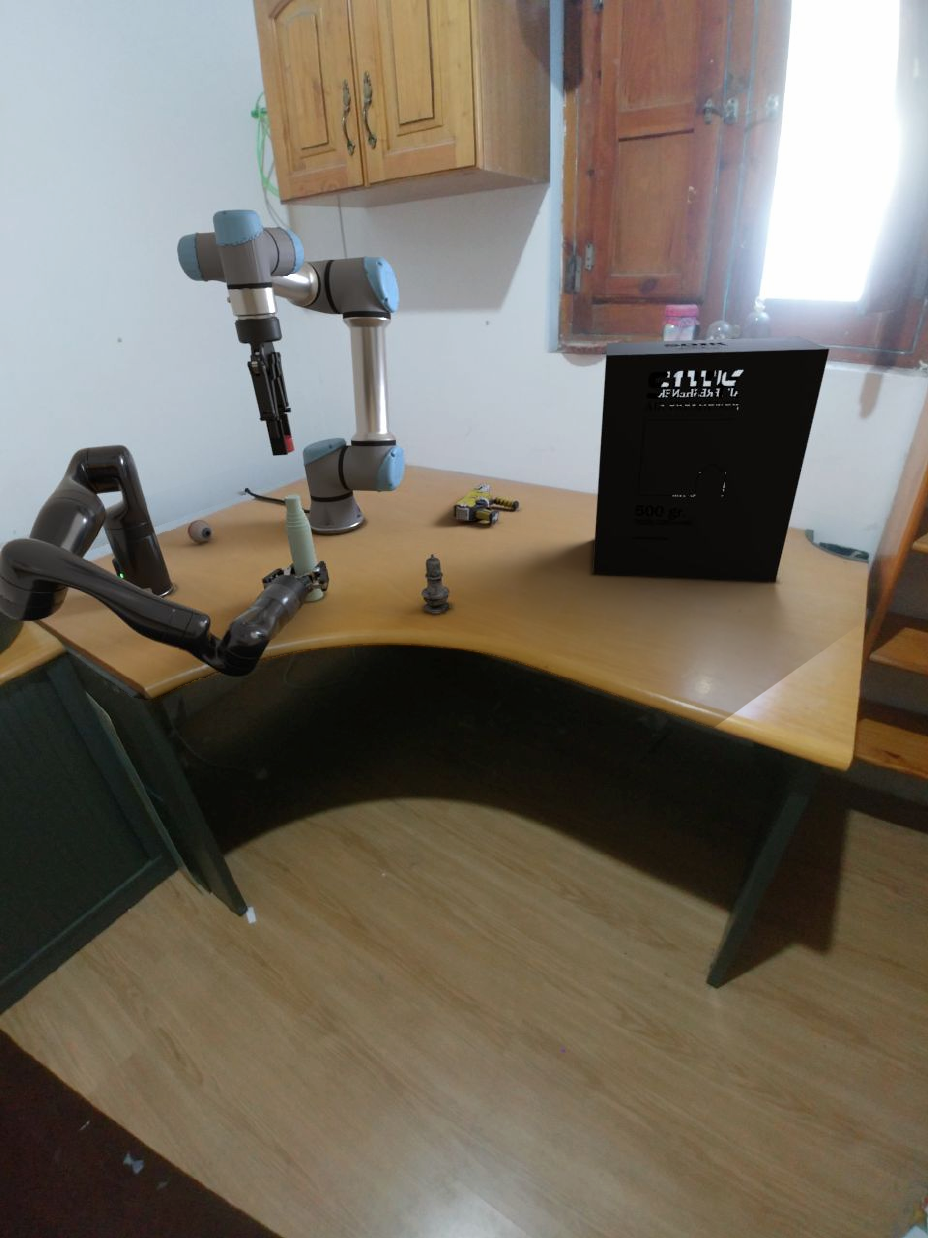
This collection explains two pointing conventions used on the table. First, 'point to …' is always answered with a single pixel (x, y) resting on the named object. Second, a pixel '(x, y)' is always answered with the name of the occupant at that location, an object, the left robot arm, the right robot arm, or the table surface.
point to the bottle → (300, 541)
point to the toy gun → (480, 505)
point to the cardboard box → (703, 455)
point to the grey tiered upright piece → (435, 588)
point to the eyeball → (200, 531)
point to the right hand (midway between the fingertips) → (283, 451)
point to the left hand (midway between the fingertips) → (310, 564)
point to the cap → (289, 443)
